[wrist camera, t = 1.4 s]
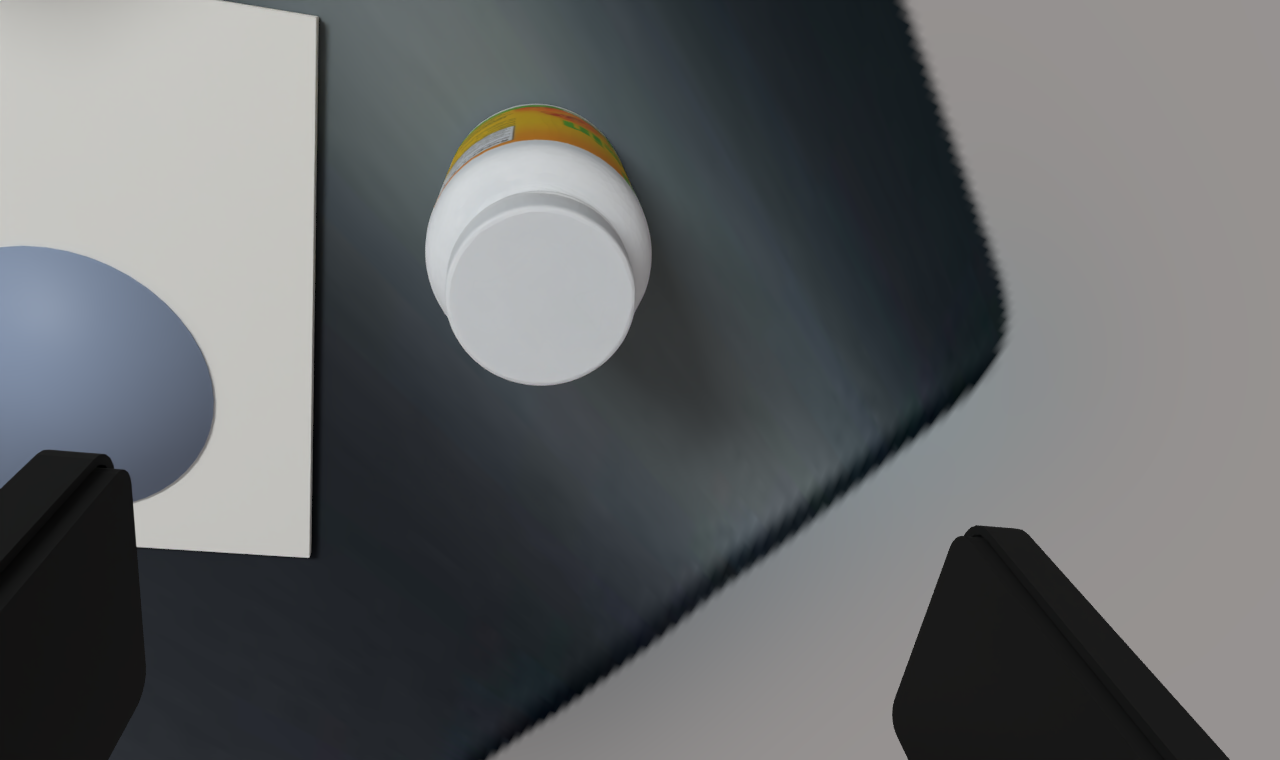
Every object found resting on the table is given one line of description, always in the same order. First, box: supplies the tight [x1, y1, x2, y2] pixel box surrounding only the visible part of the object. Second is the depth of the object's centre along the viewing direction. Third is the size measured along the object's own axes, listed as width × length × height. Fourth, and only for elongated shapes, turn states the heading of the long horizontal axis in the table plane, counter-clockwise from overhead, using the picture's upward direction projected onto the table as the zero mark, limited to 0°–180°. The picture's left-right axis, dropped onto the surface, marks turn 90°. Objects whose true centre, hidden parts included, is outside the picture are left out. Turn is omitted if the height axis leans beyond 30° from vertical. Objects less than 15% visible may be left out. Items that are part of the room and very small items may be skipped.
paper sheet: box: [0, 0, 319, 558], centre depth 26 cm, size 18×13×1 cm
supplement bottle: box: [425, 104, 652, 386], centre depth 22 cm, size 5×5×10 cm
